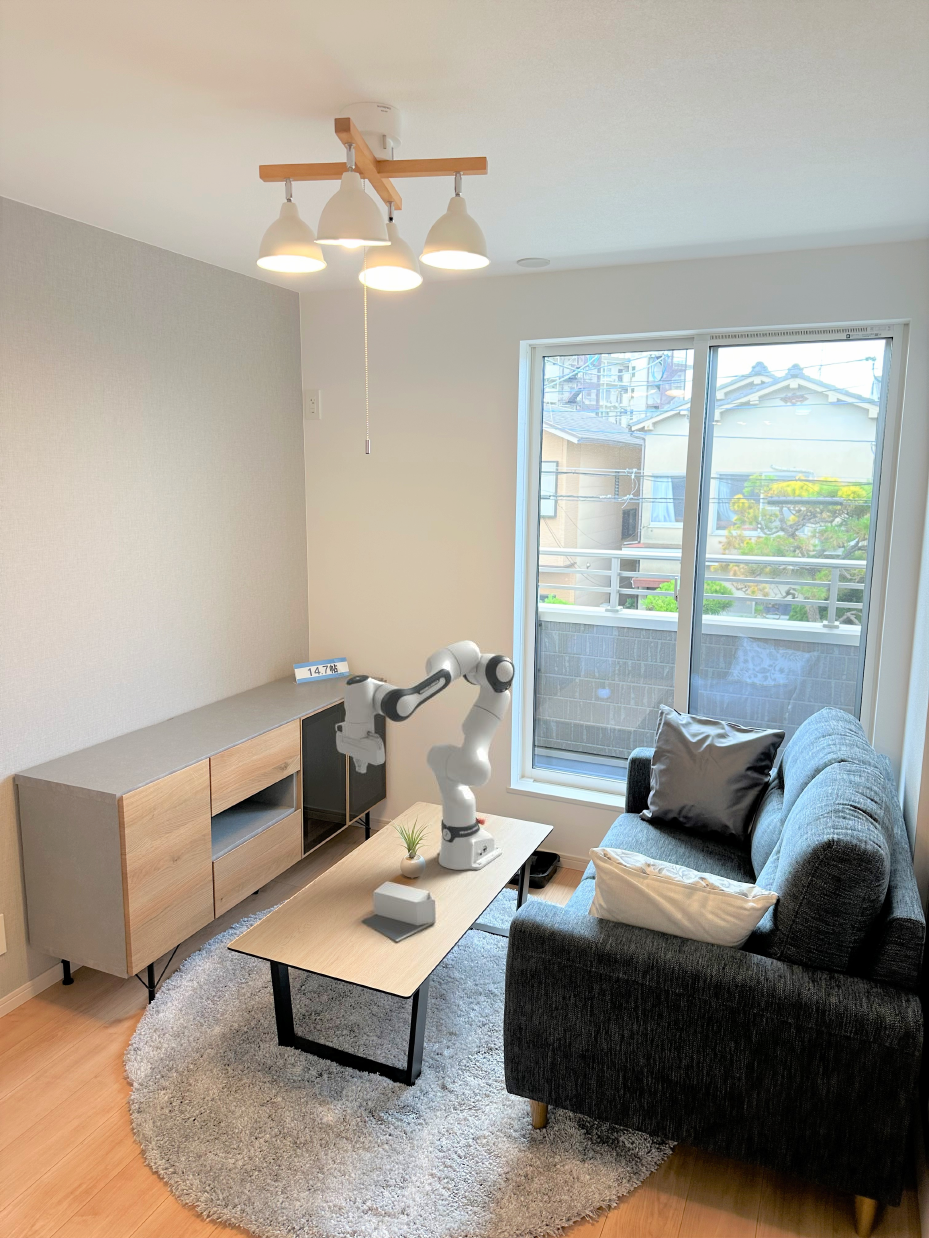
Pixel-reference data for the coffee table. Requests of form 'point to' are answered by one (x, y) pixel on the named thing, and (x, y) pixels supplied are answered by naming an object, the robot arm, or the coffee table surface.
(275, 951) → the coffee table surface
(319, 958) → the coffee table surface
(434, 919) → the milk carton
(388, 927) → the mat
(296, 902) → the coffee table surface
